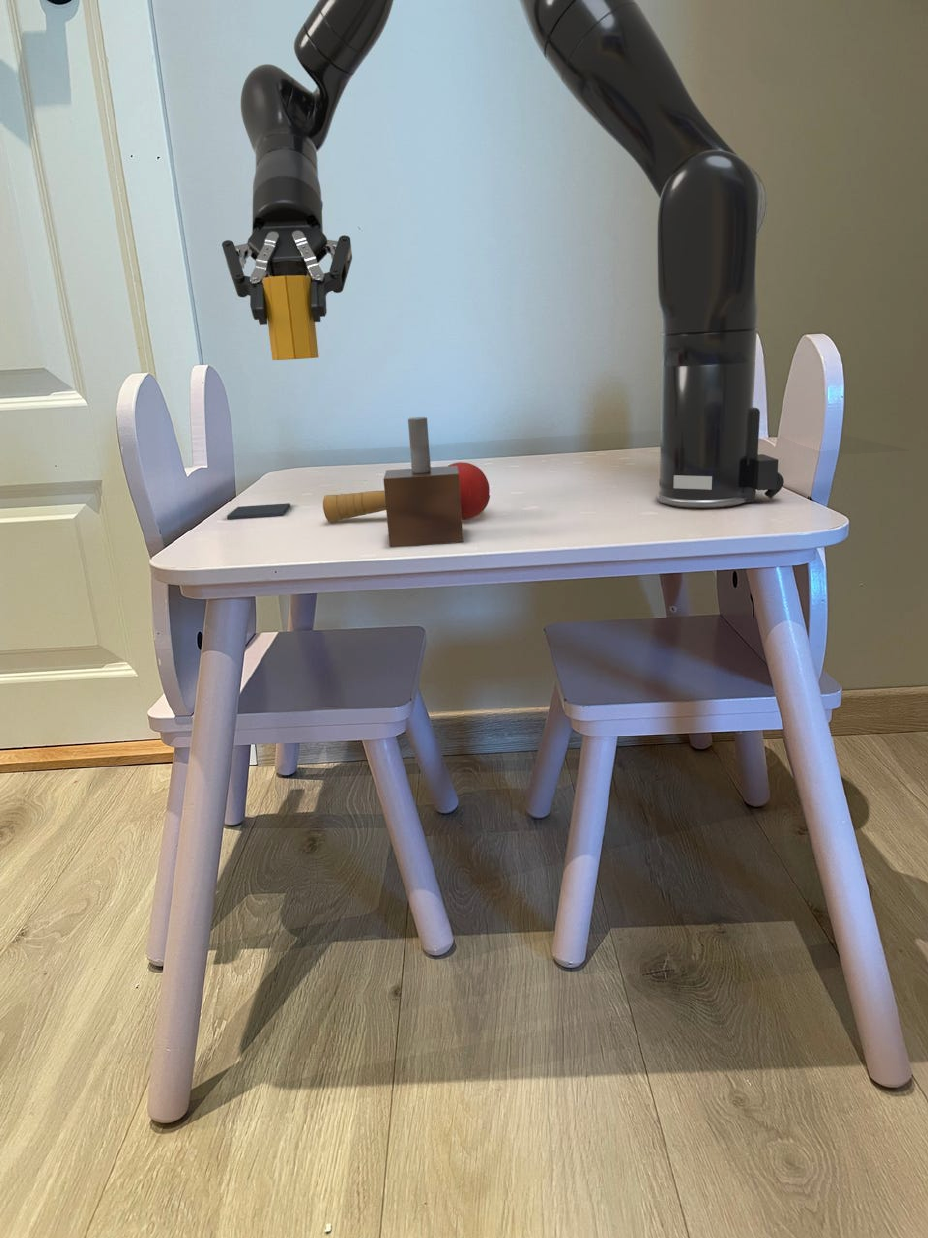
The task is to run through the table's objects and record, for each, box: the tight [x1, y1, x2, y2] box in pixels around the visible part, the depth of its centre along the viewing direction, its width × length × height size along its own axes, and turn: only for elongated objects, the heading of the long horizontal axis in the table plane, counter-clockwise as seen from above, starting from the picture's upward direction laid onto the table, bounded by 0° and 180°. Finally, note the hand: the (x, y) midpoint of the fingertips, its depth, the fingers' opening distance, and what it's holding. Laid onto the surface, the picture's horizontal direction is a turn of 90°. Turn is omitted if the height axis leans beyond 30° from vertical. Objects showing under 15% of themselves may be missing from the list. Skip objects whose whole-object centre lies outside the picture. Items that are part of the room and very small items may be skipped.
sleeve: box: [263, 275, 319, 361], centre depth 86 cm, size 5×5×8 cm
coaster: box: [226, 502, 291, 520], centre depth 98 cm, size 6×6×1 cm
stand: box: [383, 416, 464, 548], centre depth 79 cm, size 7×5×12 cm
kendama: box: [322, 461, 491, 523], centre depth 88 cm, size 8×6×18 cm
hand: (289, 316), depth 85 cm, fingers closed on sleeve, 5 cm apart
